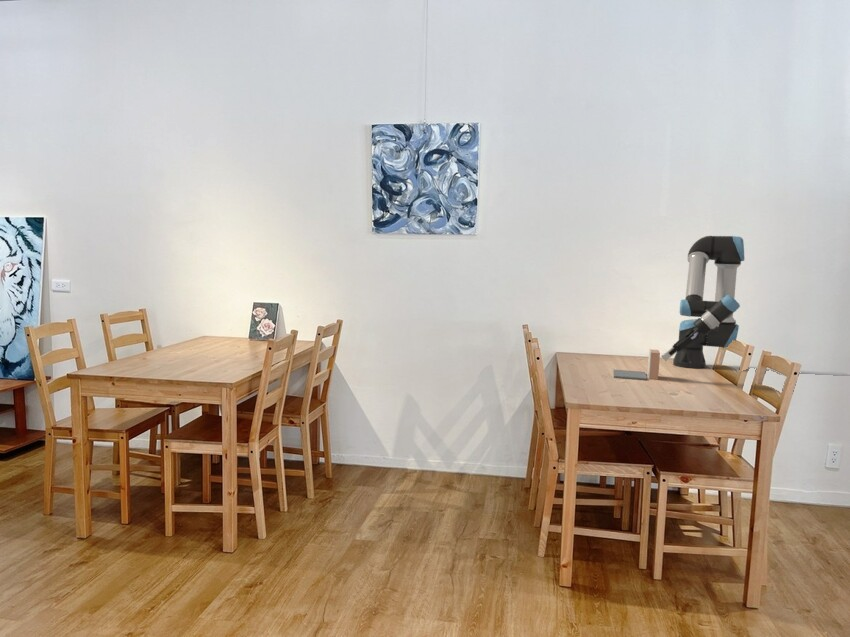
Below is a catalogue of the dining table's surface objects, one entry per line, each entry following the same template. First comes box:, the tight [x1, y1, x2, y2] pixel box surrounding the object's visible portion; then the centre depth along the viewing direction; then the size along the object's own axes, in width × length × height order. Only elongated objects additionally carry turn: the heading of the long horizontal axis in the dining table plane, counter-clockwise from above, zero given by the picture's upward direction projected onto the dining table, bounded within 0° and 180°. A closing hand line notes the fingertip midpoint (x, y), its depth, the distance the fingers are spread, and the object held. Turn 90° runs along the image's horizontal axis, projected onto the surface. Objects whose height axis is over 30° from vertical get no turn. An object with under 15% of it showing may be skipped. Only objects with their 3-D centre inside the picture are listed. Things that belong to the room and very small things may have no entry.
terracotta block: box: [646, 348, 661, 381], centre depth 297 cm, size 4×9×12 cm, turn 165°
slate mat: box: [613, 369, 648, 381], centre depth 300 cm, size 14×16×1 cm
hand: (663, 358), depth 295 cm, fingers closed
